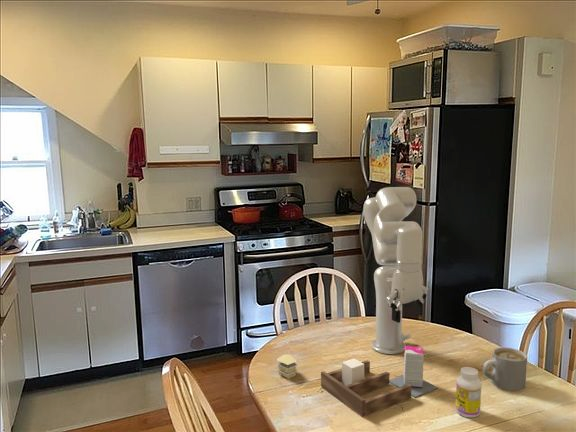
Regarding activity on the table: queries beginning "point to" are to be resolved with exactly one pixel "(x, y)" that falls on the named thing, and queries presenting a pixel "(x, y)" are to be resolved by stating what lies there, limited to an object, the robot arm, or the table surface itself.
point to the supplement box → (413, 366)
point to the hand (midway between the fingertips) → (407, 317)
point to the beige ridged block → (286, 366)
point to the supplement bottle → (468, 393)
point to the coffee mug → (507, 369)
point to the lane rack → (364, 391)
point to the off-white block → (352, 371)
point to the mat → (414, 391)
